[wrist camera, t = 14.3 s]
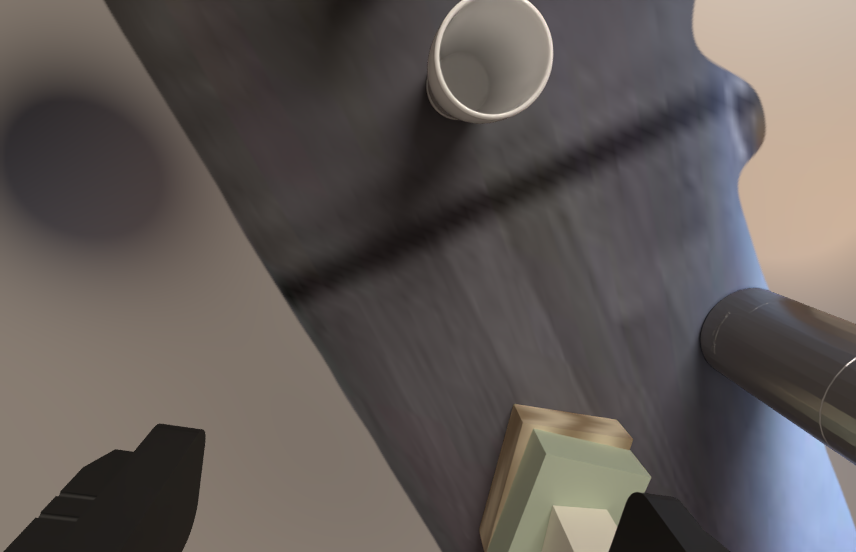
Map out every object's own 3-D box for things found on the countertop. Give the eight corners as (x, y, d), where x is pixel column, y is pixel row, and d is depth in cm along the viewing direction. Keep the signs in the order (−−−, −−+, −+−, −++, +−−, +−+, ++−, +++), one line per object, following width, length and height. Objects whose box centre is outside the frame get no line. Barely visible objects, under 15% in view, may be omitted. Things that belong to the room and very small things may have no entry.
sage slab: (630, 450, 48) (651, 477, 44) (579, 568, 51) (595, 603, 47) (533, 428, 46) (546, 453, 43) (486, 551, 50) (495, 585, 46)
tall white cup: (500, 124, 43) (558, 114, 28) (421, 133, 42) (439, 127, 28) (494, 38, 41) (552, -20, 27) (412, 47, 41) (425, -7, 26)
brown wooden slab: (614, 417, 51) (633, 439, 48) (574, 538, 55) (588, 568, 51) (512, 401, 50) (522, 422, 46) (478, 526, 54) (485, 556, 50)
